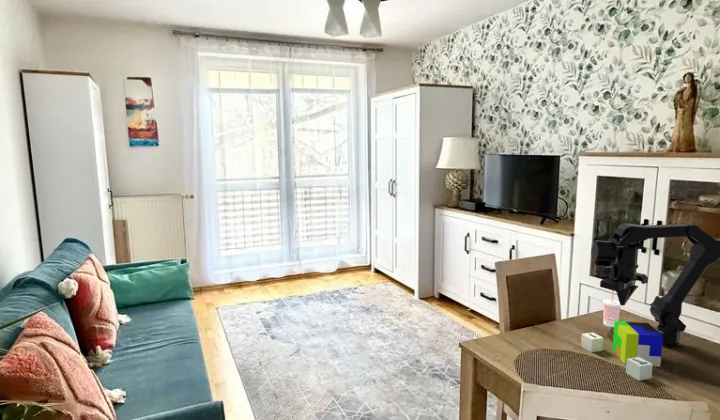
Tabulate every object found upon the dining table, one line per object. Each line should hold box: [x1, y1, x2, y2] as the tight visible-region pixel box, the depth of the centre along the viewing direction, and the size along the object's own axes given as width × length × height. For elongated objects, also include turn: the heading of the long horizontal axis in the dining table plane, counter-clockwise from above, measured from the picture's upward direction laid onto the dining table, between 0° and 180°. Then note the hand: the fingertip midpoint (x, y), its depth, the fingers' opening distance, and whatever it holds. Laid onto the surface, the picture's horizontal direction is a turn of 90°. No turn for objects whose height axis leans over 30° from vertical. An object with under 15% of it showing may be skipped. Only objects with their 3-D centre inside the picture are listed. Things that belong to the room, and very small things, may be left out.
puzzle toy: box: [611, 320, 663, 368], centre depth 136 cm, size 10×10×10 cm
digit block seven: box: [625, 357, 654, 381], centre depth 126 cm, size 4×4×5 cm
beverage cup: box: [602, 290, 622, 328], centre depth 161 cm, size 6×6×14 cm
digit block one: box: [580, 332, 604, 353], centre depth 143 cm, size 4×4×5 cm
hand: (622, 305), depth 147 cm, fingers closed
